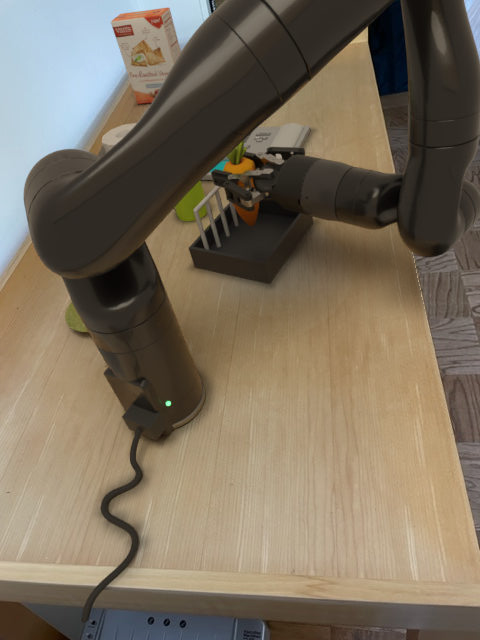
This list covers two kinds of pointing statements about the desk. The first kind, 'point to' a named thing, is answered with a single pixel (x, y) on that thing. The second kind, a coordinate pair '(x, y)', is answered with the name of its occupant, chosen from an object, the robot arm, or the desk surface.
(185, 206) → the soap dispenser
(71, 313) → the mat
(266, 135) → the office telephone
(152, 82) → the cracker box
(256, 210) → the carrot
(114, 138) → the toilet tissue
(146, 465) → the desk surface
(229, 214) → the drying rack
